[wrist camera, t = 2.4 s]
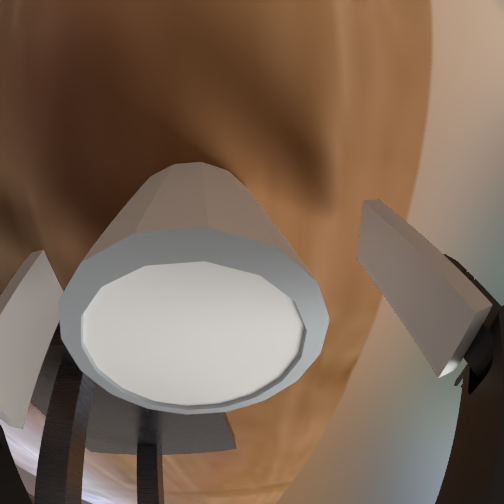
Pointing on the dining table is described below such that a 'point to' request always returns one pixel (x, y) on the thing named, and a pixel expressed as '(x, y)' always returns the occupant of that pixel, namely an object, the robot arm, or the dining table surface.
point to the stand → (109, 431)
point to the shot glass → (193, 299)
